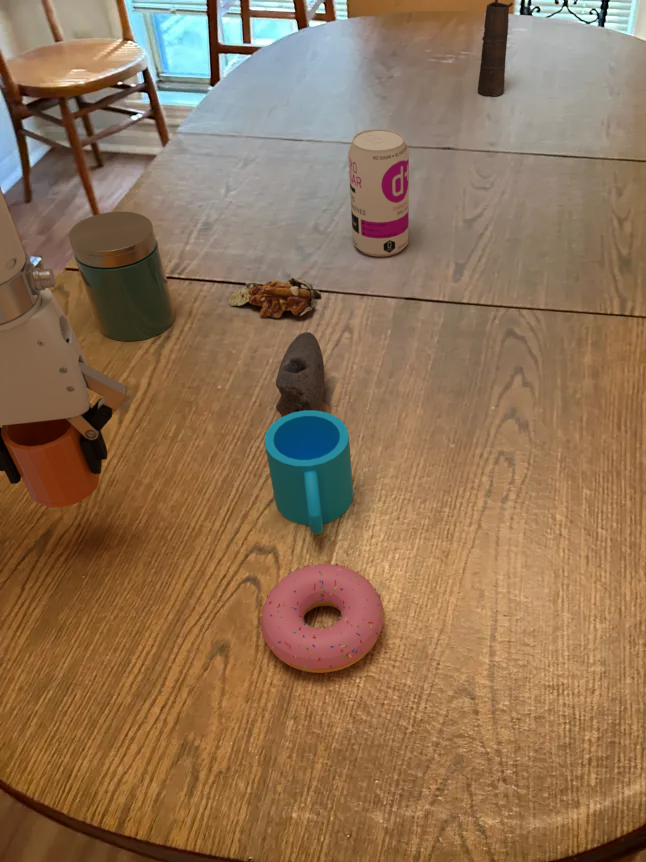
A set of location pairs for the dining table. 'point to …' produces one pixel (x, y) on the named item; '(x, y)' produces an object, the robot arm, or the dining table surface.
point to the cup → (50, 461)
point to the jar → (130, 298)
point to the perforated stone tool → (301, 376)
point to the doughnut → (327, 644)
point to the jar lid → (112, 239)
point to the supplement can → (379, 191)
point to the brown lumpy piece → (277, 297)
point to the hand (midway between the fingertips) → (57, 467)
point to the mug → (310, 467)
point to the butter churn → (494, 49)
